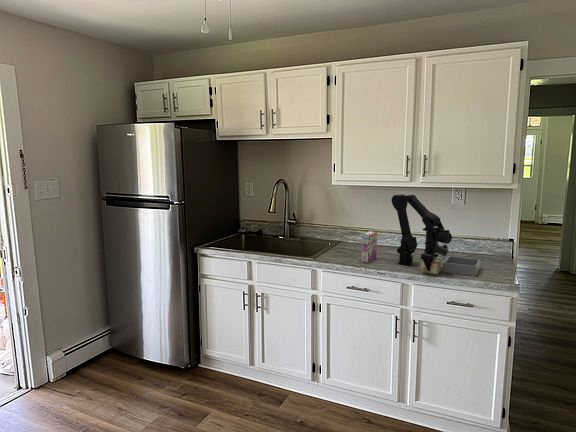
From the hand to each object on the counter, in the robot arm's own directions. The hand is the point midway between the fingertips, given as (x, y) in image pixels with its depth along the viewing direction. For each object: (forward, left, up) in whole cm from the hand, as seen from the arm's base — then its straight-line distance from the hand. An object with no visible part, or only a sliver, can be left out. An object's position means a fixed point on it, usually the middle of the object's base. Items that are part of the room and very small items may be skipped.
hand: (430, 269), depth 214 cm
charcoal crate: (+14, +10, -1) cm, 17 cm away
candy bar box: (-35, +4, -1) cm, 35 cm away
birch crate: (0, 0, -1) cm, 1 cm away
